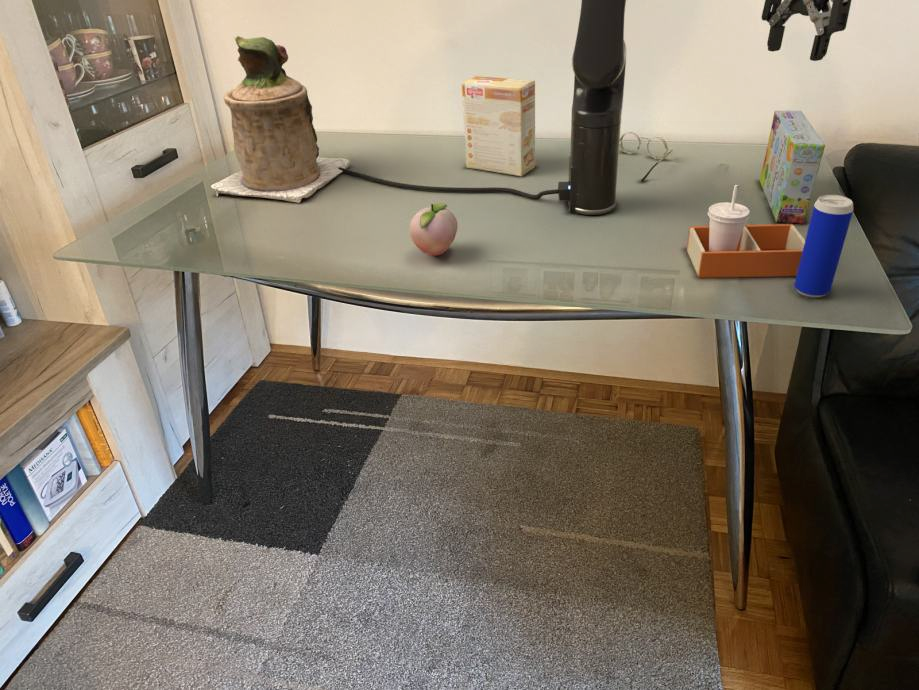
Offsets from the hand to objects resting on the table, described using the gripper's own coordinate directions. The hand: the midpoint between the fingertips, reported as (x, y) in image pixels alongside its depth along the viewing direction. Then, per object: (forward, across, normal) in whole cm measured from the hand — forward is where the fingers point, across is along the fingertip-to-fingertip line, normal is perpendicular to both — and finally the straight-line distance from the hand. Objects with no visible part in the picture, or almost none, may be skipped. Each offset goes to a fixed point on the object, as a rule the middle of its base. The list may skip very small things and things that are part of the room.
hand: (794, 55), depth 111 cm
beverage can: (+30, +22, -11) cm, 39 cm away
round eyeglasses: (+30, -39, 0) cm, 49 cm away
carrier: (+30, +10, -13) cm, 34 cm away
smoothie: (+30, +8, -16) cm, 35 cm away
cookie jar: (+32, -76, -71) cm, 109 cm away
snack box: (+30, -5, +12) cm, 32 cm away
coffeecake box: (+31, -54, -25) cm, 67 cm away
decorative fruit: (+31, -22, -56) cm, 68 cm away
